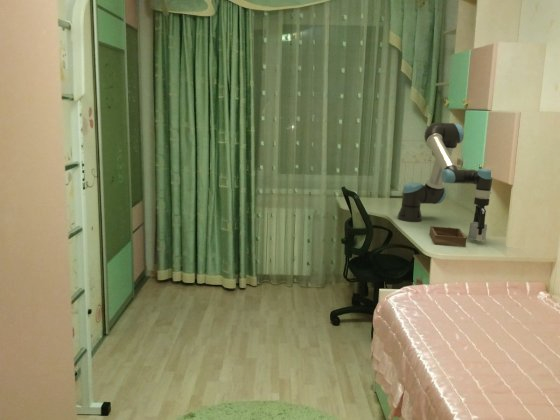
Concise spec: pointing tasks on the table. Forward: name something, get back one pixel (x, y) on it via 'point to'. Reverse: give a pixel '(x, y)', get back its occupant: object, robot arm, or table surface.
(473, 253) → the table surface
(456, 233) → the walnut box
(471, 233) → the medicine box
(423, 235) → the table surface
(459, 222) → the table surface
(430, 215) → the table surface
